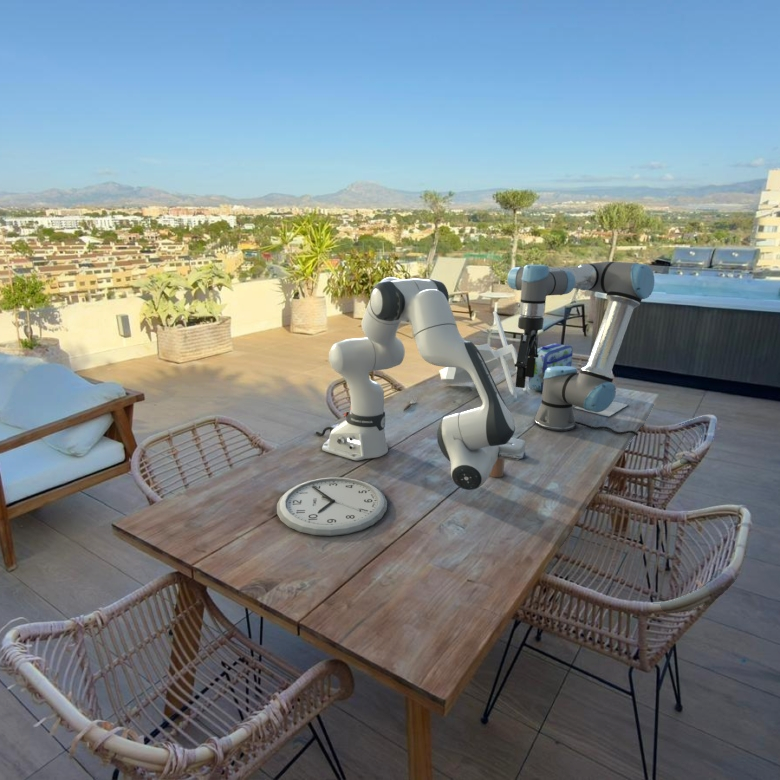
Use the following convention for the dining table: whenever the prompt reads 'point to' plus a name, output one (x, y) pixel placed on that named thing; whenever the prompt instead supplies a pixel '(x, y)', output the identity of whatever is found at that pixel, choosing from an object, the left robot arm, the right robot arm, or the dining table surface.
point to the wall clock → (331, 506)
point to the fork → (411, 403)
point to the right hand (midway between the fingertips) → (524, 381)
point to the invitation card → (608, 409)
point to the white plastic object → (487, 362)
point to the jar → (498, 468)
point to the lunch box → (549, 362)
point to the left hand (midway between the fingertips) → (491, 433)
